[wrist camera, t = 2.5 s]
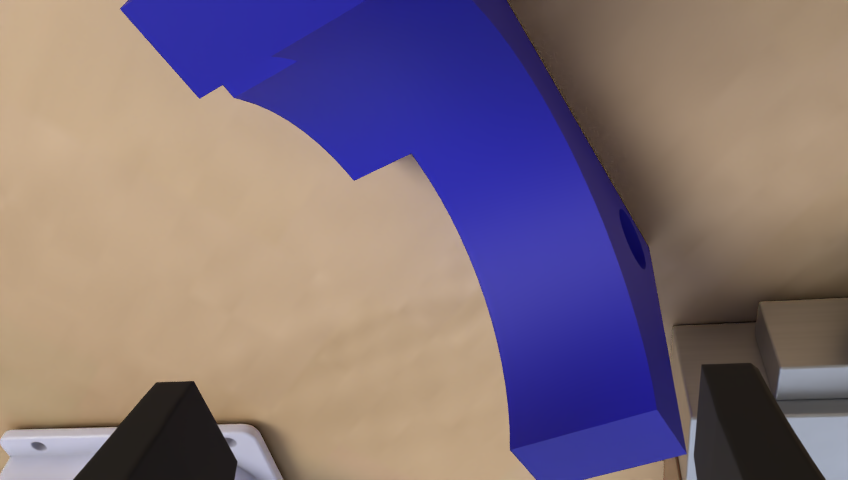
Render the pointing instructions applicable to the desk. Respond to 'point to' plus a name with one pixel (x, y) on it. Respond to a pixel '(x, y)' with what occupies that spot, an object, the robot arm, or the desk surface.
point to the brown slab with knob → (775, 374)
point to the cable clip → (470, 193)
